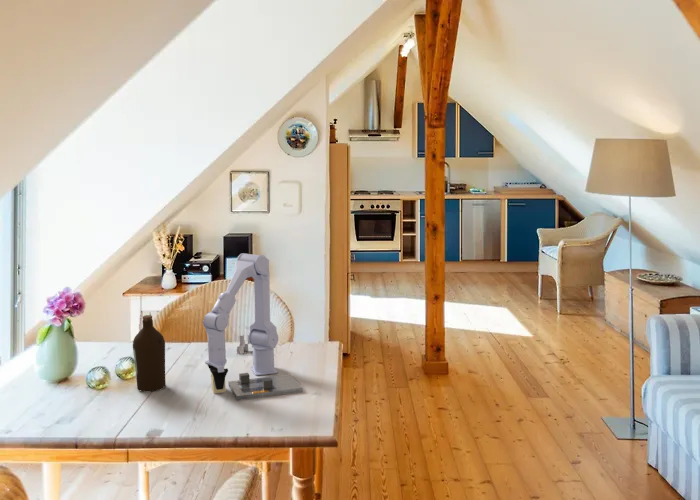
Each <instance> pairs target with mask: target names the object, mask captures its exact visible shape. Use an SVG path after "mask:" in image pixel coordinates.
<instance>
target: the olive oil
mask: <svg viewBox="0 0 700 500" xmlns="http://www.w3.org/2000/svg"><path fill="white" fill-rule="evenodd" d="M132 350H133V351H132V353H133V359H134V361H133V362H134V369H135V376H136V377H135V379H136V380H135V381H136V388H137V390H138V391H140V390H141V391H140V392H144V391H151V392H156V390H157V391H160V389H161V390H162V389H165V387H166V340H165V337H164V336H163V335H162V333H161V332H159V330H157V328H155V327H154V321H153V315H150V314H148V315H147V314H146V315H143V316H142V327H141V329H140V330H139V331H138V333H137V334H136V335H135V336H134V338H133V341H132Z"/></svg>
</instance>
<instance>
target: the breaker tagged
mask: <svg viewBox="0 0 700 500" xmlns="http://www.w3.org/2000/svg"><path fill="white" fill-rule="evenodd" d="M262 387H263V389H270V388H273V383H272V379H271V378H264V379H262Z"/></svg>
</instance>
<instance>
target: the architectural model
mask: <svg viewBox="0 0 700 500" xmlns="http://www.w3.org/2000/svg"><path fill="white" fill-rule="evenodd" d="M248 337H249V334H247V343H246V340H245V335H239V345H238V346H237V347H236V354H237V355H239V354H240V355H241V354H245V353H244V352H249V345H251V344H250V343H249V339H248Z"/></svg>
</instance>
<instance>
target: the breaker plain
mask: <svg viewBox="0 0 700 500" xmlns="http://www.w3.org/2000/svg"><path fill="white" fill-rule="evenodd" d="M238 376H239V382H240V383H241V384H244V383H250V379H251V378H250V373H249V372H244V373H238Z"/></svg>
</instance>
